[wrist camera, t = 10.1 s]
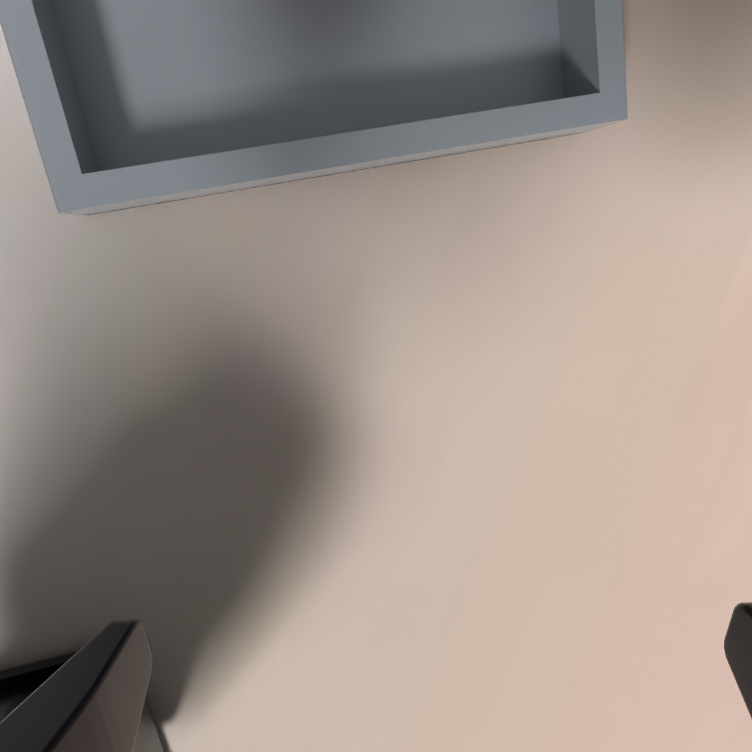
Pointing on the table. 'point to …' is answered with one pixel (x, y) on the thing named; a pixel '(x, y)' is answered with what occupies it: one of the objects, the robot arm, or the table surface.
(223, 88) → the tray
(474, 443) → the table surface
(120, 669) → the robot arm
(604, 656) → the table surface
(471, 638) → the table surface
